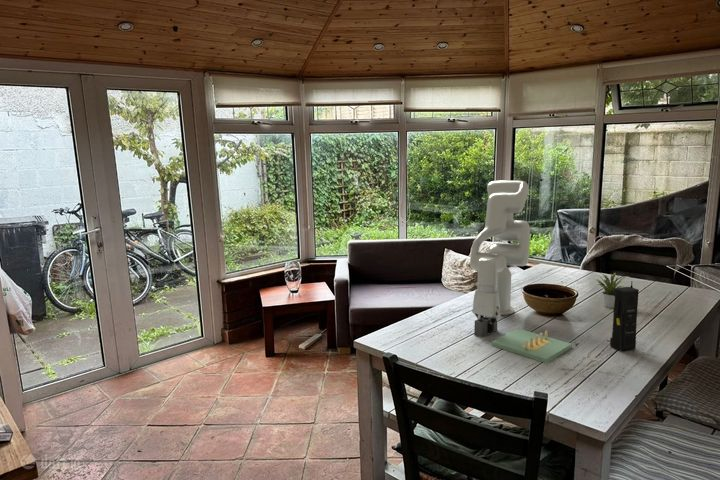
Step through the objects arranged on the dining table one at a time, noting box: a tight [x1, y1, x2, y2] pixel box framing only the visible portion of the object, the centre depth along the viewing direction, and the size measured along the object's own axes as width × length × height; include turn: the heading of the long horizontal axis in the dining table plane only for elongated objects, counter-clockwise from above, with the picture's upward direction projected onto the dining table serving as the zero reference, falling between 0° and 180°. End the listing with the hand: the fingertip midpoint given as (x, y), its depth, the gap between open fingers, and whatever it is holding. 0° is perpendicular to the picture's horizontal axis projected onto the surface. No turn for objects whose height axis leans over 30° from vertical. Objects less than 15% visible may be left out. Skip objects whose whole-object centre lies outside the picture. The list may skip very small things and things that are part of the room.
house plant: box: [594, 272, 631, 309], centre depth 222 cm, size 14×14×16 cm
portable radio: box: [609, 281, 640, 352], centre depth 175 cm, size 8×6×25 cm
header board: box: [491, 328, 573, 364], centre depth 180 cm, size 22×19×5 cm
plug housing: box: [473, 315, 498, 338], centre depth 195 cm, size 4×11×6 cm, turn 131°
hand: (486, 330), depth 195 cm, fingers closed on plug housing, 3 cm apart
